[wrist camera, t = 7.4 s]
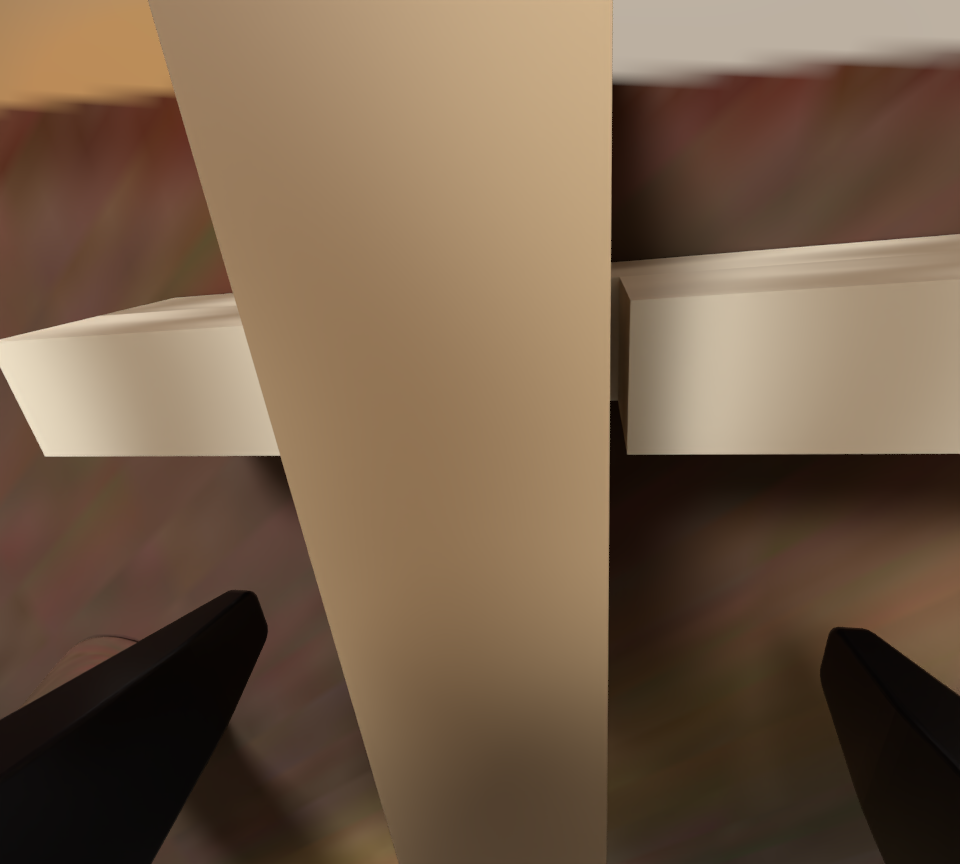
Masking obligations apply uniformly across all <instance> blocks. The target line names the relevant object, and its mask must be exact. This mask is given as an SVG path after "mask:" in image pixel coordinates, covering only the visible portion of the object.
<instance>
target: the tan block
mask: <svg viewBox="0 0 960 864" xmlns="http://www.w3.org/2000/svg"><path fill="white" fill-rule="evenodd" d="M148 2H149V6H150V9H151V12H152V16H153V20H154V23H155V26H156V30H157V33H158V37H159V40H160V44H161V47H162V50H163V54H164V57H165V61H166V64H167V68H168V71H169V75H170V78H171V81H172V85H173V88H174V92H175V95H176V99H177V102H178V105H179V109H180V112H181V116H182V119H183V123H184V126H185V130H186V133H187V136H188V140H189V143H190V147H191V150H192V154H193V157H194V161H195V164H196V167H197V171H198V174H199V178H200V181H201V185H202V188H203V191H204V195H205V198H206V202H207V205H208V209H209V212H210V216H211V219H212V222H213V226H214V229H215V233H216V236H217V240H218V243H219V246H220V250H221V253H222V257H223V260H224V264H225V267H226V271H227V274H228V277H229V281H230V284H231V288H232V291H233V295H234V298H235V302H236V305H237V308H238V312H239V315H240V319H241V322H242V326H243V329H244V332H245V336H246V339H247V343H248V346H249V350H250V353H251V357H252V360H253V363H254V367H255V370H256V374H257V377H258V381H259V384H260V387H261V391H262V394H263V398H264V401H265V405H266V408H267V412H268V415H269V418H270V422H271V425H272V429H273V432H274V436H275V439H276V443H277V446H278V449H279V453H280V456H281V460H282V463H283V467H284V470H285V473H286V477H287V480H288V484H289V487H290V491H291V494H292V498H293V501H294V504H295V508H296V511H297V515H298V518H299V522H300V525H301V528H302V532H303V535H304V539H305V542H306V546H307V549H308V553H309V556H310V559H311V563H312V566H313V570H314V573H315V577H316V580H317V583H318V587H319V590H320V594H321V597H322V601H323V604H324V608H325V611H326V614H327V618H328V621H329V625H330V628H331V632H332V635H333V639H334V642H335V645H336V649H337V652H338V656H339V659H340V663H341V666H342V669H343V673H344V676H345V680H346V683H347V687H348V690H349V694H350V697H351V700H352V704H353V707H354V711H355V714H356V718H357V721H358V724H359V728H360V731H361V735H362V738H363V742H364V745H365V749H366V752H367V755H368V759H369V762H370V766H371V769H372V773H373V776H374V780H375V783H376V786H377V790H378V793H379V797H380V800H381V804H382V807H383V810H384V814H385V817H386V821H387V824H388V828H389V831H390V835H391V838H392V841H393V845H394V848H395V852H396V855H397V859H398V862H399V864H607V754H608V609H609V464H610V319H611V174H612V27H613V26H612V25H613V23H612V22H613V21H612V20H613V0H148Z"/></svg>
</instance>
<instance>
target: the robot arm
mask: <svg viewBox="0 0 960 864" xmlns="http://www.w3.org/2000/svg"><path fill="white" fill-rule="evenodd" d="M267 633H268V626H267V623H266V620H265V617H264V614H263V611H262V609H261V606H260V603H259V600H258V597H257V595H256V594H255V593H254V592H252V591H245V590H230V591H228V592H226V593H224V594H222V595H220V596H219V597H217V598H215V599H213V600H211V601H210V602H208V603H206V604H204V605H203V606H201V607H199V608H197V609H196V610H194V611H192V612H190V613H188V614H187V615H185V616H183V617H181V618H180V619H178V620H176V621H174V622H173V623H171V624H169V625H167V626H165V627H164V628H162V629H160V630H158V631H157V632H155V633H153V634H151V635H149V636H148V637H146V638H144V639H142V640H141V641H139V642H137V643H135V644H134V645H132V646H130V647H128V648H126V649H125V650H123V651H121V652H119V653H118V654H116V655H114V656H112V657H111V658H109V659H107V660H105V661H103V662H102V663H100V664H98V665H96V666H95V667H93V668H91V669H89V670H87V671H86V672H84V673H82V674H80V675H79V676H77V677H75V678H73V679H72V680H70V681H68V682H66V683H64V684H63V685H61V686H59V687H57V688H56V689H54V690H52V691H50V692H49V693H47V694H45V695H43V696H41V697H40V698H38V699H36V700H34V701H33V702H31V703H29V704H27V705H26V706H24V707H22V708H20V709H18V710H17V711H15V712H13V713H11V714H10V715H8V716H6V717H4V718H2V719H1V720H0V864H152V862H153V860H154V858H155V857H156V855H157V853H158V851H159V849H160V848H161V846H162V844H163V842H164V840H165V839H166V837H167V835H168V833H169V831H170V830H171V828H172V826H173V824H174V822H175V821H176V819H177V817H178V815H179V813H180V811H181V810H182V808H183V806H184V804H185V802H186V801H187V799H188V797H189V795H190V793H191V792H192V790H193V788H194V786H195V784H196V783H197V781H198V779H199V777H200V775H201V774H202V772H203V770H204V768H205V766H206V764H207V763H208V761H209V759H210V757H211V755H212V754H213V752H214V750H215V748H216V746H217V745H218V743H219V741H220V739H221V737H222V735H223V733H224V731H225V730H226V728H227V726H228V723H229V721H230V719H231V717H232V715H233V713H234V711H235V709H236V706H237V704H238V702H239V700H240V697H241V695H242V693H243V691H244V688H245V686H246V684H247V682H248V679H249V677H250V675H251V673H252V670H253V668H254V666H255V664H256V661H257V659H258V657H259V655H260V652H261V650H262V648H263V646H264V643H265V641H266V638H267ZM820 678H821V684H822V688H823V691H824V694H825V698H826V701H827V704H828V707H829V710H830V713H831V716H832V719H833V722H834V725H835V729H836V732H837V735H838V738H839V741H840V744H841V747H842V750H843V753H844V757H845V760H846V763H847V766H848V769H849V772H850V775H851V778H852V781H853V784H854V787H855V790H856V793H857V796H858V799H859V802H860V805H861V808H862V810H863V813H864V815H865V818H866V820H867V822H868V825H869V827H870V830H871V832H872V834H873V837H874V839H875V841H876V844H877V846H878V848H879V851H880V853H881V855H882V857H883V860H884V862H885V864H960V696H959V695H958V694H957V693H955V692H954V691H952V690H951V689H950V688H948V687H947V686H946V685H944V684H943V683H941V682H940V681H939V680H937V679H936V678H935V677H933V676H932V675H930V674H929V673H928V672H926V671H925V670H924V669H922V668H921V667H920V666H918V665H917V664H915V663H914V662H913V661H911V660H910V659H909V658H907V657H906V656H904V655H903V654H902V653H900V652H899V651H898V650H896V649H895V648H893V647H892V646H891V645H889V644H888V643H887V642H885V641H884V640H883V639H881V638H880V637H878V636H877V635H876V634H874V633H873V632H871V631H869V630H867V629H863V628H848V627H836V628H833V629H832V630H831V631H830V633H829V636H828V640H827V644H826V648H825V652H824V656H823V660H822V664H821V669H820Z"/></svg>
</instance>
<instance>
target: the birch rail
mask: <svg viewBox="0 0 960 864" xmlns="http://www.w3.org/2000/svg"><path fill="white" fill-rule="evenodd" d="M0 367H1V369H2V371H3V373H4V375H5V377H6V379H7V381H8V383H9V385H10V387H11V389H12V391H13V393H14V395H15V397H16V399H17V401H18V403H19V405H20V407H21V409H22V411H23V413H24V415H25V417H26V419H27V421H28V423H29V425H30V427H31V429H32V431H33V433H34V435H35V437H36V439H37V441H38V443H39V445H40V447H41V449H42V451H43V453H44V455H45V456H280V453H279V449H278V446H277V443H276V439H275V436H274V432H273V429H272V425H271V422H270V418H269V415H268V412H267V408H266V405H265V401H264V398H263V394H262V391H261V387H260V384H259V381H258V377H257V374H256V370H255V367H254V363H253V360H252V357H251V353H250V350H249V346H248V343H247V339H246V336H245V332H244V329H243V326H242V322H241V319H240V315H239V312H238V308H237V305H236V302H235V298H234V295H233V293H229V294H217V295H204V296H192V297H180V298H172V299H168V300H164V301H160V302H156V303H151V304H147V305H143V306H139V307H135V308H130V309H126V310H122V311H118V312H114V313H109V314H105V315H101V316H97V317H93V318H88V319H84V320H80V321H76V322H72V323H67V324H63V325H59V326H55V327H51V328H46V329H42V330H38V331H34V332H30V333H25V334H21V335H17V336H13V337H9V338H4V339H0ZM617 400H618V404H619V410H620V416H621V422H622V428H623V434H624V440H625V446H626V451H627V455H679V454H960V234H956V235H943V236H931V237H919V238H906V239H894V240H882V241H869V242H857V243H845V244H832V245H820V246H808V247H796V248H783V249H771V250H759V251H746V252H734V253H722V254H709V255H697V256H685V257H672V258H660V259H648V260H635V261H623V262H611V319H610V401H617Z"/></svg>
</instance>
